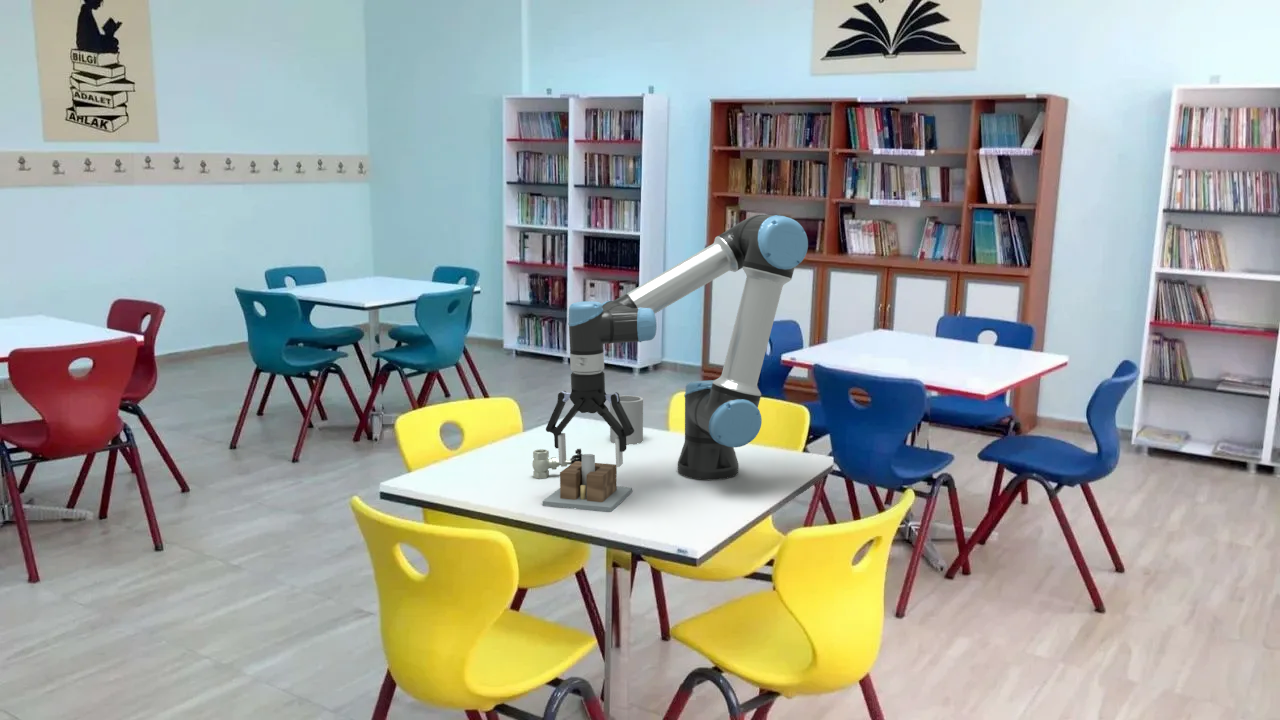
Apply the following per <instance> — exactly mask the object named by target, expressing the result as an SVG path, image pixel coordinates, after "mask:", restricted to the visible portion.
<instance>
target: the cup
mask: <svg viewBox="0 0 1280 720" xmlns="http://www.w3.org/2000/svg"><path fill="white" fill-rule="evenodd" d="M619 398H620V403H621V405H622V407H623V409H624V411H625V413H626V415H627V417H628V419H629V421H630V423H631V425H632V427H633V429H634V433H632V434H631V435H630V436H626V446H629V444H633V445H638V444H637V443H639V444H641V442H642V441H644V398H643V397H642V396H638V395H619ZM609 412H610V413H611V414H612V415H613V416H614V418H615V419H616V420H617V421H618V422H619V424H620V425H621V423H620V421H619V419H618V417H617V415H616V413H615V411H614V409H613V407H612V404H610V403H609ZM621 426H622V425H621ZM609 430H610V431H609V434H610V435H609V436H610V438H609V441H611V442H610V443H611V444H614V443H615V438H616V437H618V435H617V434H616V433H615V432H614V431H613V429H612V428H611V427H610V426H609ZM642 443H643V442H642Z"/></svg>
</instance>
